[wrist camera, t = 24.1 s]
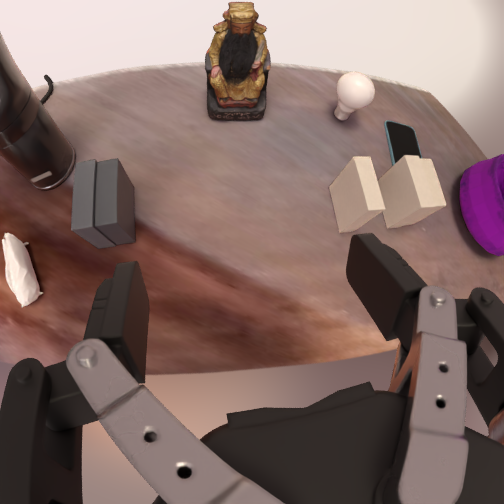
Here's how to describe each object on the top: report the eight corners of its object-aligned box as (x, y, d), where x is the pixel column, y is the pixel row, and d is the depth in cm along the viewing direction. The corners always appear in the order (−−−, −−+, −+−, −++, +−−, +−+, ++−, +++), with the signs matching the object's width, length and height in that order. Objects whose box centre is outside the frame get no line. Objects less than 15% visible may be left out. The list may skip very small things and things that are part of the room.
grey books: (98, 248, 41) (71, 230, 32) (98, 191, 43) (75, 163, 34) (135, 243, 42) (115, 223, 33) (134, 185, 44) (117, 154, 34)
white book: (339, 233, 45) (368, 210, 36) (328, 187, 47) (353, 156, 37) (354, 231, 46) (385, 209, 36) (343, 186, 47) (370, 156, 38)
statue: (202, 121, 47) (200, 26, 28) (208, 87, 49) (209, -4, 30) (276, 127, 48) (305, 36, 29) (276, 93, 50) (300, 5, 31)
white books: (386, 228, 47) (421, 207, 37) (374, 182, 48) (404, 154, 39) (413, 225, 47) (448, 205, 38) (400, 182, 49) (432, 156, 39)
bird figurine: (12, 262, 40) (23, 313, 36) (-8, 240, 34) (0, 295, 30) (34, 249, 42) (47, 299, 38) (16, 225, 36) (26, 279, 32)
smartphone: (413, 127, 52) (430, 194, 48) (411, 130, 53) (426, 196, 50) (384, 119, 51) (398, 188, 48) (381, 122, 53) (395, 190, 49)
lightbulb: (340, 99, 52) (362, 61, 41) (362, 124, 51) (388, 87, 40) (316, 109, 50) (335, 68, 40) (338, 135, 50) (363, 96, 39)
